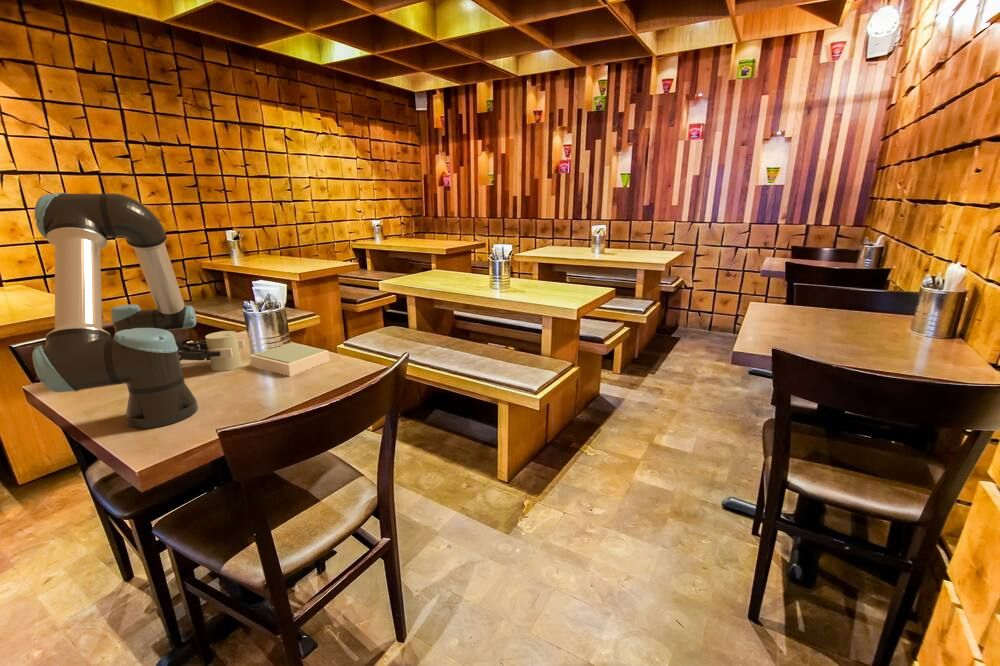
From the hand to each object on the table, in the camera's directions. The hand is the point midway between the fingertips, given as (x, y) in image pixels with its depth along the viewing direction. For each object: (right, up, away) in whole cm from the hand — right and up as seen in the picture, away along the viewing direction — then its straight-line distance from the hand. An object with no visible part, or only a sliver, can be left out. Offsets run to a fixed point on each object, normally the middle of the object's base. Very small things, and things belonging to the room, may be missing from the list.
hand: (238, 348), depth 152 cm
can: (-5, -7, +1) cm, 8 cm away
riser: (+16, -6, +4) cm, 18 cm away
